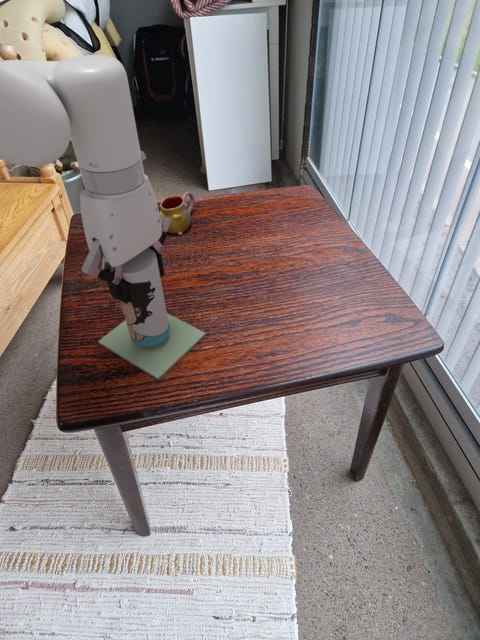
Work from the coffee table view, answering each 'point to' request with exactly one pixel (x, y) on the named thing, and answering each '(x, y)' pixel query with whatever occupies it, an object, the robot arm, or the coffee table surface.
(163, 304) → the cup
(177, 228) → the mug
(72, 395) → the coffee table surface
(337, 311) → the coffee table surface
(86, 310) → the coffee table surface
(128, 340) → the mat
